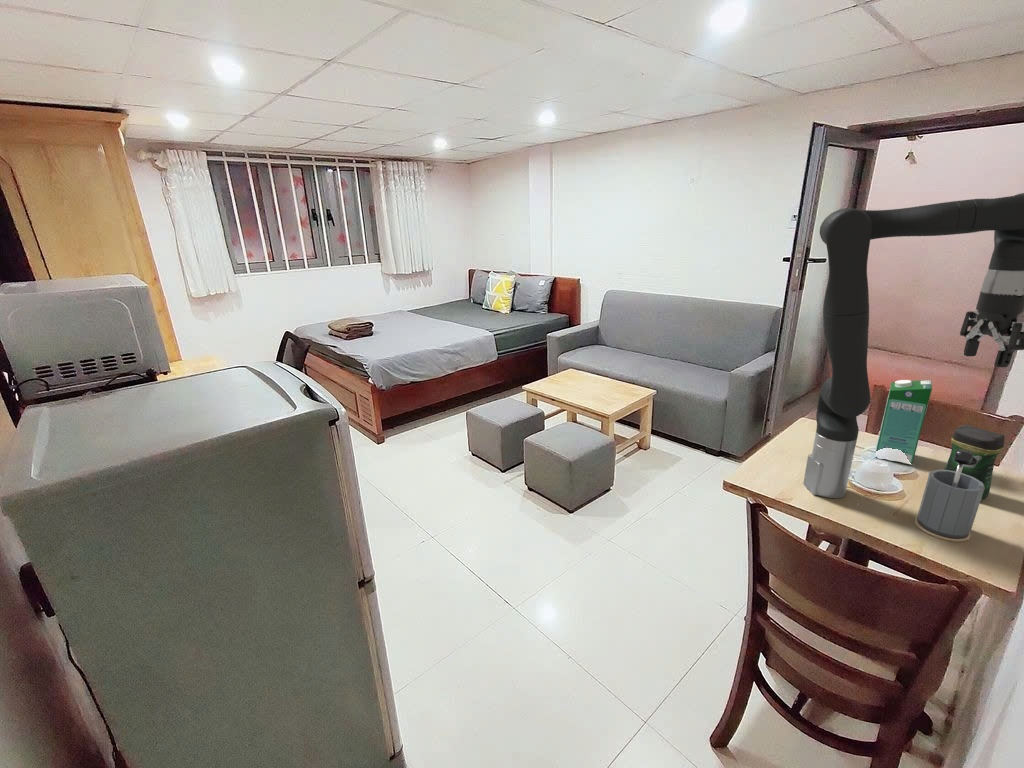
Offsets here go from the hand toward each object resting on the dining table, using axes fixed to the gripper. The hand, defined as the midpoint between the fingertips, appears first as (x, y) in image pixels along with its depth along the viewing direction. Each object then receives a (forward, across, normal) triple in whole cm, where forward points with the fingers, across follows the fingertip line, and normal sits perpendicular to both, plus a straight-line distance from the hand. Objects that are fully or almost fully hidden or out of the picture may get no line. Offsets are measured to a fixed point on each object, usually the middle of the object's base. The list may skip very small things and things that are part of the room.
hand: (984, 361), depth 107 cm
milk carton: (+40, -29, +6) cm, 50 cm away
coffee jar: (+40, -9, +11) cm, 43 cm away
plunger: (+38, +8, -6) cm, 40 cm away
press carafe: (+40, +8, -6) cm, 41 cm away
